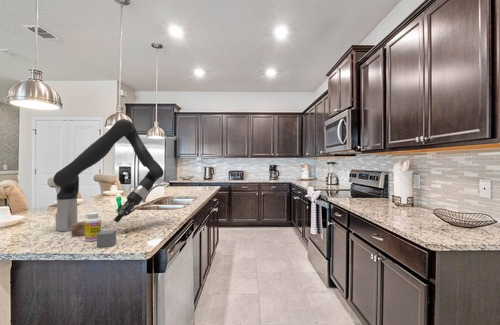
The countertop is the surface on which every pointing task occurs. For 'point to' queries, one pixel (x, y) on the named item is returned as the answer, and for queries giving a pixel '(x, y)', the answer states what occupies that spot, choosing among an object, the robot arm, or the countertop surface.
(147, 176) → the robot arm
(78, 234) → the walnut block
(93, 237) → the supplement bottle
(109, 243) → the charcoal block
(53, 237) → the countertop surface
